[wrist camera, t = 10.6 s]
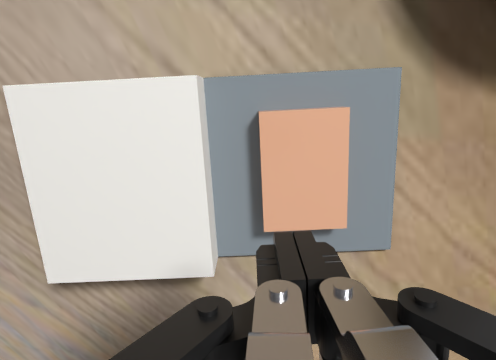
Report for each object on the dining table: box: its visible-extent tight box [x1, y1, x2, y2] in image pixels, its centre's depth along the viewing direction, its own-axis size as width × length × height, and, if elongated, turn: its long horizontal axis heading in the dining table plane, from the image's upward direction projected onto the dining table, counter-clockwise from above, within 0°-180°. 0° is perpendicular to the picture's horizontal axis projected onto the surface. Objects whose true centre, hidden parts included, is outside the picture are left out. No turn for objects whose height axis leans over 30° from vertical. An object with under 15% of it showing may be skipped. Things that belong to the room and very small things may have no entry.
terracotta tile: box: [258, 106, 350, 232], centre depth 27 cm, size 10×7×2 cm
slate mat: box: [203, 67, 402, 257], centre depth 28 cm, size 16×16×1 cm
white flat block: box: [3, 75, 218, 283], centre depth 27 cm, size 16×14×4 cm
